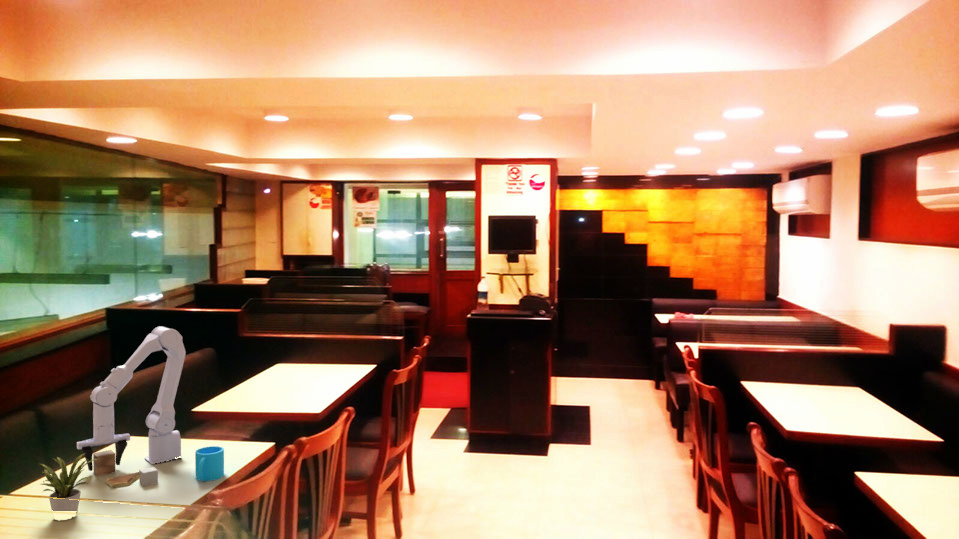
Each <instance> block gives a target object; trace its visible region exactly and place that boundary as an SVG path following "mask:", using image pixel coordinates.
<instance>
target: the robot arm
mask: <svg viewBox="0 0 959 539" xmlns="http://www.w3.org/2000/svg"><path fill="white" fill-rule="evenodd" d="M160 351H163V352H164V354H166V356H167V358H166V362H165V367H164V370H163V374H162V378H161V382H160V387H159V390H158V394H157V397H156V398H157V399H156V401H155V403H154V404H153V406H152V407H151V409H150V412H149V413H148V415H147V416H146V419H145V425H146V427H147V428H149V430H148V456H145V457H144V460H146V461H147V462H148V461H149V462H150V463H149V462H148V463H149V464H151V465H155V463H157V464H161V463H164V462H163V461H166V462H168V461H167V460H171V461H173V460H172V459H175V457H176V458H177V457H179V456H181V457H182V438H181V437H182V436H181V434H180V433H181V432H180V431H179V430H177V429H176V430H174V429H175V428H176V427H175V426H176V420H175V415H176V411H175V407H174V404H175V399H176V395H177V391H178V387H179V382H180V379H181V375H182V371H183V368H184V362H185V359H186V353H187V351H186V348H185V345H184V343H183V336H182V335H181V334H180V332H179V331H178V330H176V329H174V328H169V327H166V326H162V325H161V326H160V325H159V326H157V327H155V328H153V330H152V331H151V333H148V334H147V335H146V337H145V338H144V340H143V341H142V343H141V344H140V345H139V346H138V347H137V349H136V350H135V351H134V352H133V354H132V355H131V356H130V357H129V358H128V359H127V360H126V362H125V363H124V364H123V365H117V366H116V368H115V367H114V368H112V369H111V370H110V372H111V373H110V374H108V376H107V377H106V378H105V379H104V381H101V382H100V383H99V386H96V387H94V389H93V390H92V391H91V394H90V395H89V398H90V401H91V402H93V404H92V405H93V408H92V409H93V411H92V421H93V422H92V424H93V425H92V426H93V429H92V431H93V437H92V438H89V439H85V440H82V441H80V440H79V441H77V442H76V449H77V450H78V451H79V450H80V451H81V452H82V454H84V453H85V454H84V455H83V456H84V460H87V461H86V463H87V462H88V461H90V460H93V452H94V450H93V449H92V447H96V446H97V447H98V446H103V445H109V444H114V446H115V447H114V448H115V466H120V465H121V461H122V457H123V454H124V451H125V450H126V448H127V446H128V442H130V441H131V435H130V433H121V434H115V407H114V406H115V405H114V404H115V402H116V401H117V399H118V395H119V393H120V392H121V391H122V390H123V389H124V387H125V386H127V384H128V383H129V382H130V381H131V380H132V378H133V377H134V371H135V370H136V369H137V368H138V367H139V366H140V365H141V364H142V362H144V361H145V360H146V358H147V357H149V355H151V353H155V352H160ZM88 459H89V460H88ZM160 462H161V463H160ZM87 469H88V471H90V472H91V471H94V468H93V461H91V462H89V463H88V464H87Z"/></svg>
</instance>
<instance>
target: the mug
mask: <svg viewBox="0 0 959 539" xmlns="http://www.w3.org/2000/svg"><path fill="white" fill-rule="evenodd" d="M224 476H225V449H224V447H222V446H217V445H216V446H215V445H214V446H213V445H212V446H205V447H201V448H198V449H196V450H195V480H197V481H200V482H209V481H215V480H218V479H221V478H223V477H224Z"/></svg>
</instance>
